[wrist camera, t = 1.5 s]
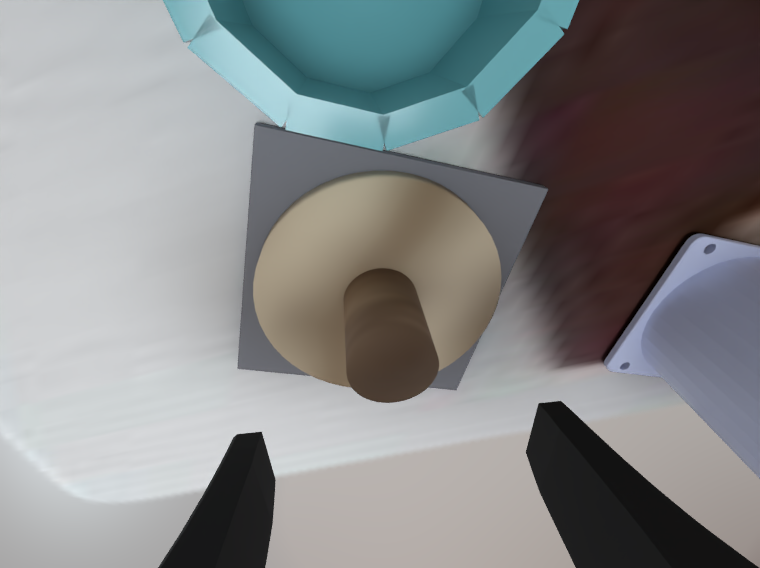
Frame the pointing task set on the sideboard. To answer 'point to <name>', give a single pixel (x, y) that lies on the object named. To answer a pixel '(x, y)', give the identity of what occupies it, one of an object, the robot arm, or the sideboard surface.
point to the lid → (377, 282)
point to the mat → (336, 159)
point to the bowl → (372, 59)
